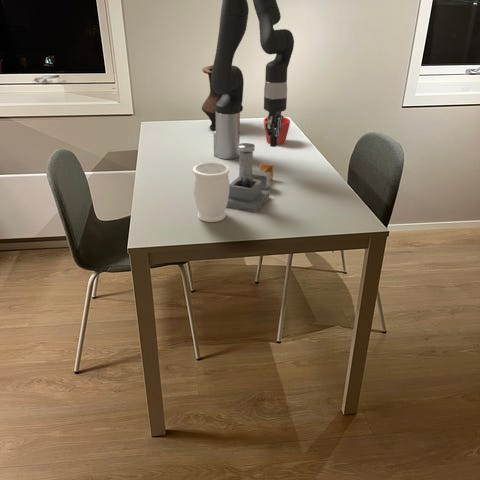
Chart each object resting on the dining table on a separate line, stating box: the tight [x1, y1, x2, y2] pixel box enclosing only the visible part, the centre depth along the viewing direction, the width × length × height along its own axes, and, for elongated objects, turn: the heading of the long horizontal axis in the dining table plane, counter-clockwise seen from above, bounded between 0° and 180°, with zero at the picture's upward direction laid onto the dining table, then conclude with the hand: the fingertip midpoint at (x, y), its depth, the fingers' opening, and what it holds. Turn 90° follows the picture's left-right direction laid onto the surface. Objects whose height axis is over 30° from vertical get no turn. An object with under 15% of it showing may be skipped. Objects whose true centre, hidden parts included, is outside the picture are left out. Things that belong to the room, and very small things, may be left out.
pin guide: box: [252, 169, 271, 191], centre depth 160 cm, size 7×4×5 cm, turn 68°
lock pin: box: [253, 162, 275, 181], centre depth 162 cm, size 12×4×5 cm, turn 158°
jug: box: [201, 64, 244, 132], centre depth 214 cm, size 21×18×30 cm
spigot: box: [238, 142, 256, 188], centre depth 147 cm, size 5×5×16 cm
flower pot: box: [263, 116, 291, 146], centre depth 202 cm, size 11×11×10 cm
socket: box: [226, 176, 270, 213], centre depth 150 cm, size 12×12×6 cm
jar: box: [192, 161, 230, 223], centre depth 138 cm, size 11×10×15 cm
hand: (273, 146), depth 167 cm, fingers closed
